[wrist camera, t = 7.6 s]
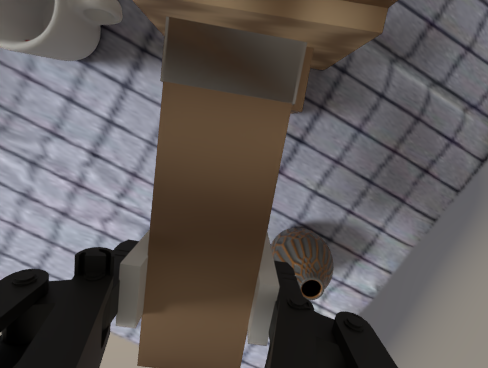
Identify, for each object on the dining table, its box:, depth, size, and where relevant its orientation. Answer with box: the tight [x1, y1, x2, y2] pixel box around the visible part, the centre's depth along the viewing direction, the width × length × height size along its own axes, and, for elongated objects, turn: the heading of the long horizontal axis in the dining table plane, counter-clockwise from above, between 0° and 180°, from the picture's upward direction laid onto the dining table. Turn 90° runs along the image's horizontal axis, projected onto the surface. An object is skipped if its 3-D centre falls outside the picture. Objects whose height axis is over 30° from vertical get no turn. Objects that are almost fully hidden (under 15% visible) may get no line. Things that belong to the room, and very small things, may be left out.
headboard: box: [133, 0, 398, 114], centre depth 22 cm, size 16×8×13 cm, turn 82°
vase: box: [271, 228, 333, 300], centre depth 29 cm, size 7×7×9 cm
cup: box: [0, 0, 123, 61], centre depth 23 cm, size 11×8×8 cm
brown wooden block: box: [138, 16, 307, 368], centre depth 13 cm, size 14×5×6 cm, turn 171°
